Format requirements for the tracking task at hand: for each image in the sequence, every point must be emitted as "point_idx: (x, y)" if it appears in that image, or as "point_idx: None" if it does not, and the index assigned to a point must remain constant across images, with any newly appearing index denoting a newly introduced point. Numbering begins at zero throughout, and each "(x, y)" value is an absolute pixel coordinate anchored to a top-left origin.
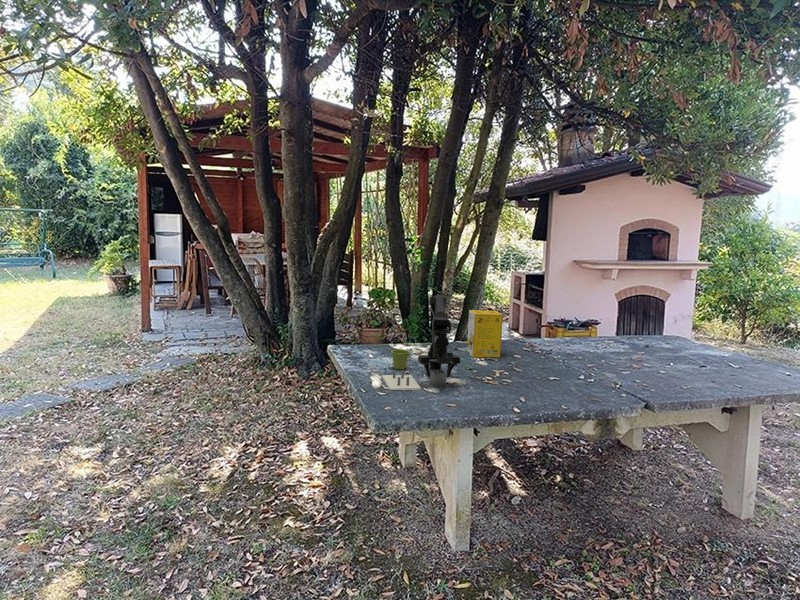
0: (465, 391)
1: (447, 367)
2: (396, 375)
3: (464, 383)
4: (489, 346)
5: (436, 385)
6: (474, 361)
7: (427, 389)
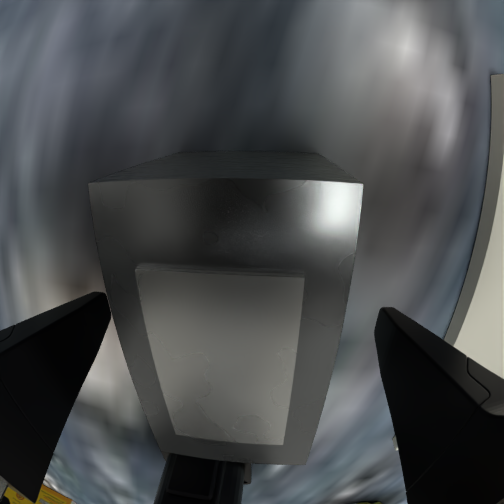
0: (42, 28)
1: (62, 429)
2: None
3: (17, 272)
4: (25, 501)
5: (302, 154)
6: (58, 484)
7: (430, 85)
